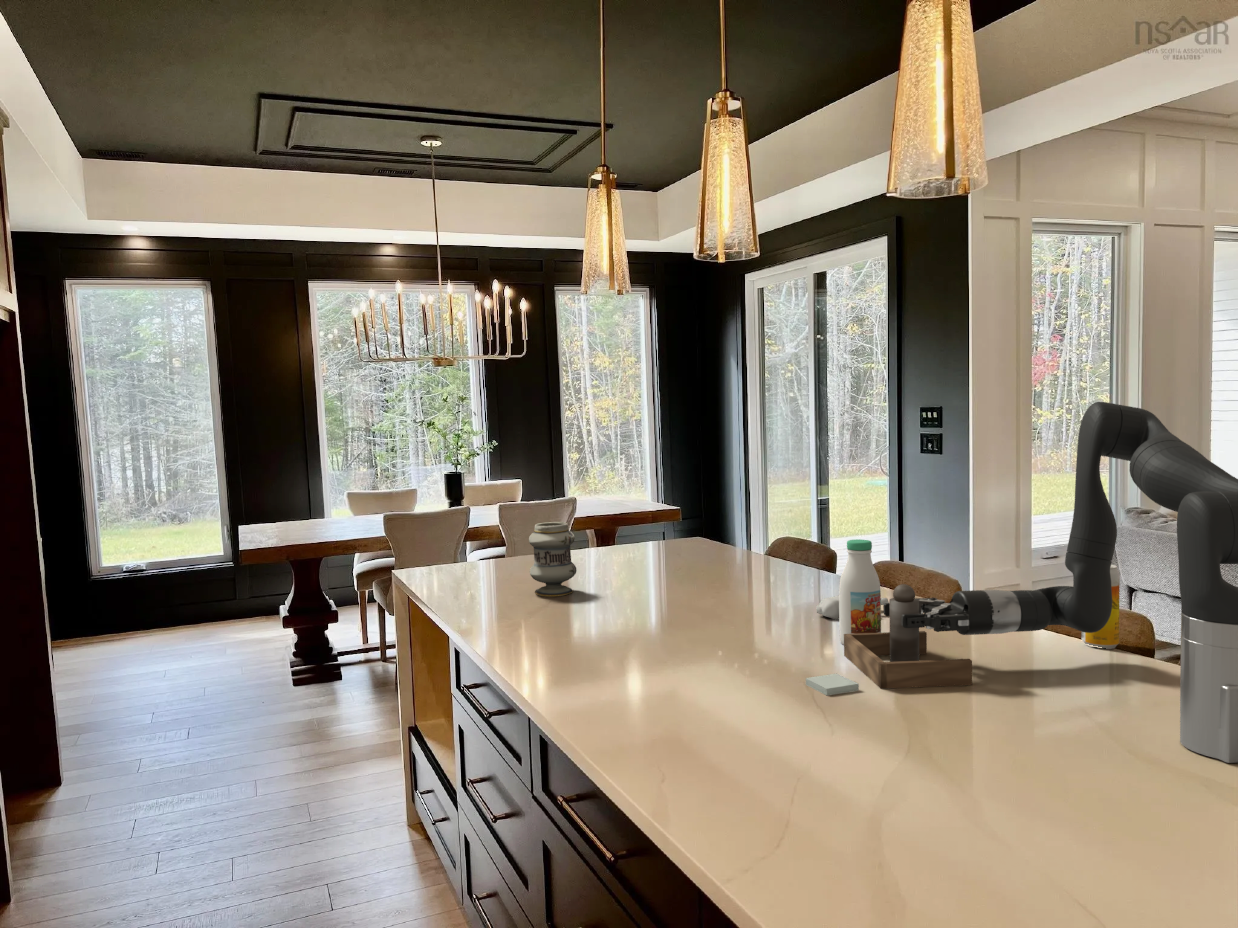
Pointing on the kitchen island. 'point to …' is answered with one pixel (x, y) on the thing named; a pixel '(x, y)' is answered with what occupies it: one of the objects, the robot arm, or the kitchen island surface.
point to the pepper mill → (901, 638)
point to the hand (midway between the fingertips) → (892, 615)
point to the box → (903, 664)
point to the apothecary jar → (552, 558)
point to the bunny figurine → (834, 607)
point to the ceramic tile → (832, 684)
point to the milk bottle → (859, 592)
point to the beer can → (1110, 631)
